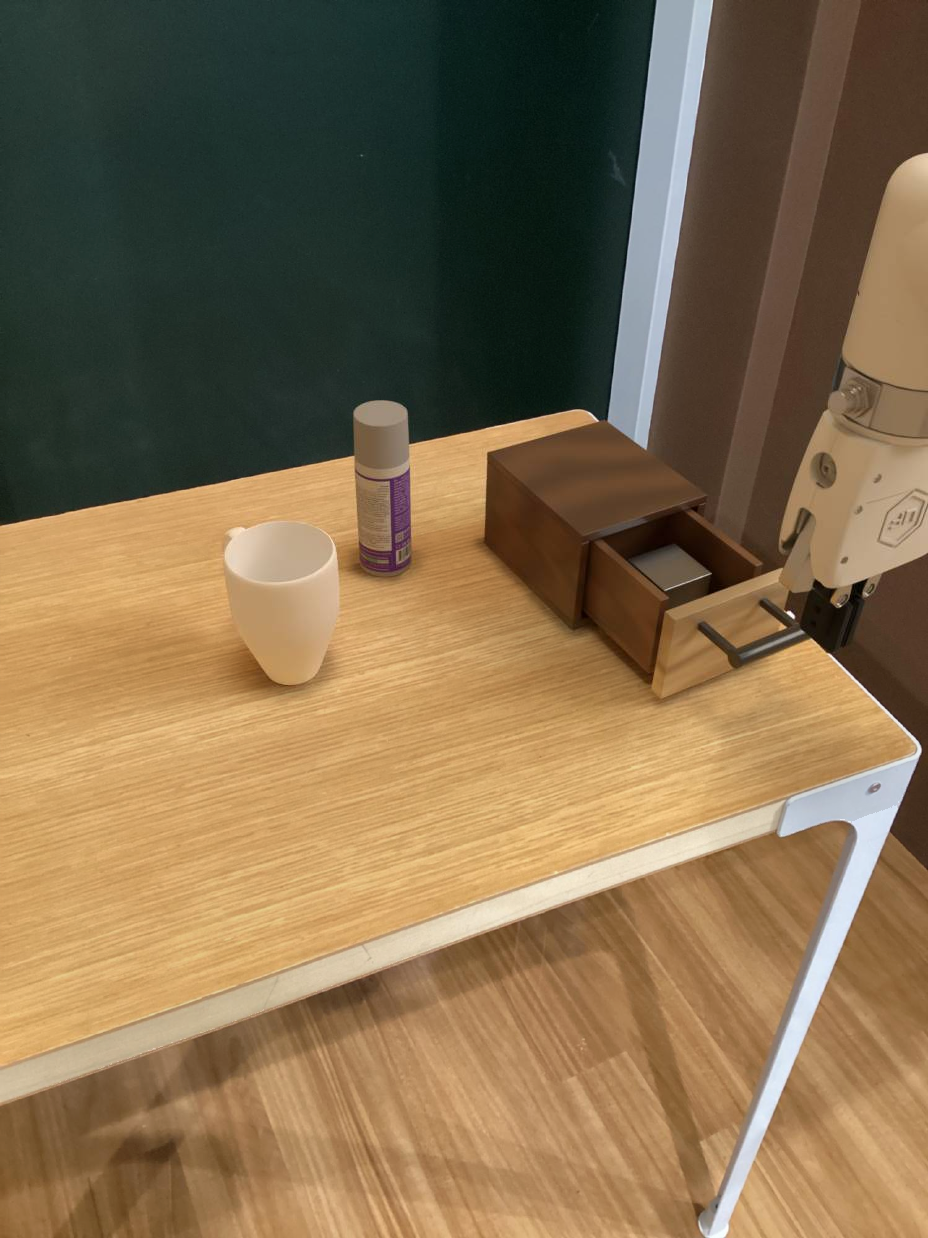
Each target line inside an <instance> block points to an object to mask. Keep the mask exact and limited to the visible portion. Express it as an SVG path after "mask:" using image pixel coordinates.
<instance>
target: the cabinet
mask: <svg viewBox="0 0 928 1238" xmlns="http://www.w3.org/2000/svg"><path fill="white" fill-rule="evenodd" d="M485 480H486V481H485V482H486V483H485V510H484V511H485V513H484V539H483V542H484V544H485V545H486V546H487V547H488V548H489V549H490V550H491V551H492V552H493V553H494V554H495V555H496V556H497V557H498V558H499V559H500V560H501V561H502V562H503V563H504V564H505V565H506V566H507V567H508V568H509V569H510V570H511V571H512V572H513V573H514V574H515V575H516V576H517V577H518V578H519V579H520V580H521V581H522V582H524V584H526V586H527V587H529V589H530V590H531V591H532V592H534V594H535V595H537V596H538V598H539V599H540V600H542V602H543V603H545V605H547V606H548V608H550V610H551V611H552V612H554V613H555V614H556V615H557V616H558V617H559V618H560V619H561V620H562V621H563V623H564V624H565V625H566V626H568V628H570V629H571V630H572V631H574V630H576V629H580V628H582V627H585V626H587V625H590V624H593V623H595V622H594V621H593V620H592V619H591V618H590V617H589V616H588V615H587V614H586V613H585V612H584V611H583V610H582V603H583V594H584V584H585V575H586V566H587V557H588V548H589V541H592V540H595V539H598V538H601V537H604V536H607V535H610V534H613V533H616V532H619V531H622V530H625V529H628V528H631V527H634V526H637V525H640V524H643V523H646V522H649V521H653V520H656V519H659V518H662V517H665V516H668V515H671V514H674V513H677V512H680V511H683V510H686V509H689V508H691V509H692V510H693V511H695V512H696V513H697V514H699V515H700V516H701V517H703V518H704V515H705V510H706V506H707V505H706V504H707V500H708V494H707V493H705V492H704V491H703V490H702V489H700V488H699V487H697V486H696V485H694V484H693V483H692V482H690V481H689V480H688V479H686V478H685V477H683V476H682V475H681V474H680V473H679V472H677V471H675V469H673V468H671V466H669V465H667V464H666V463H665V462H663V461H662V460H660V459H659V458H658V457H656V456H655V455H654V454H652V453H651V452H650V451H648V450H647V449H646V448H644V447H642V446H641V445H640V444H639V443H637V442H636V441H635V440H633V439H632V438H631V437H629V436H627V435H626V434H625V433H623V432H622V431H621V430H619V429H618V428H617V427H615V426H614V425H613V424H612V423H610V422H609V421H607V420H606V419H602V420H599V421H596V422H592V423H588V424H584V425H581V426H577V427H573V428H570V429H566V430H563V431H559V432H556V433H553V434H548V435H545V436H541V437H537V438H533V439H530V440H526V441H523V442H520V443H516V444H512V445H509V446H505V447H502V448H498V449H495V450H491V451H487V453H486V479H485Z"/></svg>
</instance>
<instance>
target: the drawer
mask: <svg viewBox="0 0 928 1238" xmlns="http://www.w3.org/2000/svg"><path fill="white" fill-rule="evenodd" d="M673 543H675V544H676V545H677V546H678V547H680V548H681V549H682V550H683V551H685V552H686V553H687V554H688V555H690V556H691V557H692V558H693V559H695V560H696V561H697V562H698V563H700V564H701V565H702V566H703V567H705V568H706V569H707V570H708V571H710V572H711V573H712V575H711V580H710V585H709V590H708V595H707V596H705V597H702V598H700V599H697V600H694V601H691V602H689V603H686V604H683V605H681V606H678V607H675V608H673V609H670V610H667V607H668V601H669V597H668V596H666V595H665V594H664V593H663V592H662V591H661V590H659V589H658V588H657V587H656V586H655V585H654V584H653V583H651V582H650V581H649V580H648V579H647V578H646V577H644V576H643V575H642V574H641V573H640V572H639V571H637V570H636V569H635V568H634V567H633V566H632V565H631V564H629V563H628V562H627V560H628V559H629V558H632V557H635V556H638V555H641V554H644V553H647V552H650V551H653V550H656V549H659V548H661V547H664V546H667V545H670V544H673ZM763 564H764V563H763V562H762V561H761V560H759V559H758V558H757V557H756V556H754V555H753V554H752V553H750V552H749V551H748V550H746V549H745V548H743V546H741V545H740V544H738V543H737V542H735V541H734V540H733V539H731V538H730V537H729V536H728V535H726V534H725V533H724V532H722V531H721V530H720V529H719V528H717V527H716V526H715V525H713V524H712V523H710V522H709V521H708V520H706V518H704V516H703V517H701V516H700V515H699V514H697V513H696V512H695V511H693V510H692V509H691V508H689V509H686V510H683V511H680V512H677V513H674V514H671V515H668V516H665V517H662V518H659V519H656V520H653V521H649V522H646V523H643V524H640V525H637V526H634V527H631V528H628V529H625V530H622V531H619V532H616V533H613V534H610V535H607V536H604V537H601V538H598V539H595V540H592V541H589V548H588V557H587V566H586V575H585V584H584V594H583V603H582V610H583V611H584V612H585V613H586V614H587V615H588V616H589V617H590V618H591V619H592V620H593V621H594V622H593V623H595V625H597V626H598V627H599V628H600V629H601V630H602V631H603V632H604V633H605V634H606V635H607V636H608V637H610V638H611V639H612V641H614V642H615V643H616V644H617V645H618V646H619V647H620V648H621V649H622V650H623V651H624V652H625V653H626V654H627V655H628V656H629V657H630V658H631V659H632V660H633V661H634V662H636V664H637V665H639V666H640V667H641V668H642V669H643V671H645V672H646V673H647V674H653V678H652V683H651V691H652V692H653V693H654V694H655V695H656V696H657V697H658V698H659V699H660V700H662V699H664V698H667V697H670V696H672V695H674V694H676V693H679V692H681V691H684V690H686V689H688V688H691V687H693V686H696V685H698V684H701V683H703V682H706V681H708V680H710V679H713V678H715V677H718V676H720V675H723V674H725V673H728V672H730V671H732V670H740V669H742V668H744V667H747V666H749V665H751V664H754V663H756V662H759V661H761V660H763V659H766V658H768V657H771V656H773V655H776V654H778V653H781V652H782V651H784V650H787V649H790V648H792V647H795V646H797V645H800V644H802V643H805V642H807V641H810V640H812V638H811V637H810V636H809V635H807V634H806V633H805V632H804V631H802V630H801V628H800V622H798V621H797V620H796V619H794V618H793V617H792V616H790V615H789V614H788V613H787V612H785V608H786V604H787V601H788V596H789V592H790V590H789V589H788V588H786V587H785V586H784V585H782V584H781V583H780V582H779V577H780V574H781V572H782V570H783V568H784V567H779V568H776V569H775V570H772V571H769V572H766V573H763V574H761V573H762V569H763ZM781 624H782V625H783V626H784V628H783V629H780V626H781ZM785 627H786V628H785Z"/></svg>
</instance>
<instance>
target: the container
mask: <svg viewBox="0 0 928 1238" xmlns="http://www.w3.org/2000/svg"><path fill="white" fill-rule="evenodd" d="M352 417H353V456H354V457H353V458H354V460H353V461H354V481H355V498H356V499H355V500H356V519H357V536H358V554H359V565H360V567H361V569H362V570H363V571H364V572H366V573H367V574H369V575H372V576H374V577H379V578H389V577H390V578H391V577H395V576H399V575H402V574H403V573H405V572H406V571H407V570H409V568H410V567H411V565H412V512H411V511H412V507H411V503H412V502H411V497H412V496H411V456H410V438H409V436H410V435H409V433H410V432H409V415H408V409H407V408H406V407H405V406H403V404H401V403H399V402H395V401H391V400H384V399H383V400H382V399H381V400H378V399H377V400H370V401H367V402H366V401H365V402H364V403H361V404H360V405H358V406H357V407H355V408H354V410H353V415H352Z"/></svg>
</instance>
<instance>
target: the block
mask: <svg viewBox="0 0 928 1238" xmlns="http://www.w3.org/2000/svg"><path fill="white" fill-rule="evenodd" d="M627 562H628V563H629V564H631V565H632V566H633V567H634V568H635V569H636V570H637V571H639V572H640V573H641V574H642V575H643V576H644V577H646V578H647V579H648V580H649V581H650V582H651V583H653V584H654V585H655V586H656V587H657V588H658V589H659V590H661V591H662V592H663V593H664V594H665V595H666V596H668V597H669V601H668V607H667V610H670V609H673V608H675V607H678V606H681V605H683V604H686V603H689V602H691V601H694V600H697V599H700V598H702V597H705V596H707V595H708V590H709V585H710V580H711V575H712V573H711V572H710V571H708V570H707V569H706V568H705V567H703V566H702V565H701V564H700V563H698V562H697V561H696V560H695V559H693V558H692V557H691V556H690V555H688V554H687V553H686V552H685V551H683V550H682V549H681V548H680V547H678V546H677V545H676V544H675V543H673V544H670V545H667V546H664V547H661V548H659V549H656V550H653V551H650V552H647V553H644V554H641V555H638V556H635V557H632V558H629V559H628V560H627Z"/></svg>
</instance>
